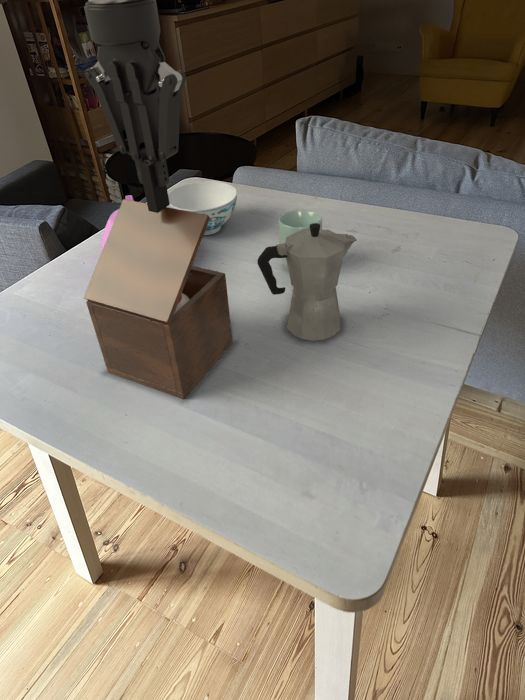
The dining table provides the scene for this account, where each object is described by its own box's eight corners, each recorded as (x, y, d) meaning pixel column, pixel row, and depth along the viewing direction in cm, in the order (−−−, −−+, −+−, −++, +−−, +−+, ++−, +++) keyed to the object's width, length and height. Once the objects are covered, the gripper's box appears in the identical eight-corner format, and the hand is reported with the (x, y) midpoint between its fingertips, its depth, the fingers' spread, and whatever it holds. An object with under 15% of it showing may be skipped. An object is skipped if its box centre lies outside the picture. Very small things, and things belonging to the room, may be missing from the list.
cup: (329, 265, 103) (330, 217, 96) (301, 281, 99) (301, 232, 92) (299, 252, 107) (298, 205, 101) (271, 267, 103) (269, 219, 97)
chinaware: (240, 211, 123) (238, 179, 119) (239, 242, 112) (236, 207, 107) (176, 215, 124) (170, 182, 119) (167, 246, 112) (161, 211, 107)
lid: (126, 201, 75) (123, 198, 75) (210, 217, 70) (207, 214, 69) (86, 299, 73) (83, 297, 73) (170, 324, 68) (167, 322, 67)
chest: (162, 322, 91) (147, 254, 83) (233, 343, 86) (225, 273, 77) (107, 372, 82) (85, 301, 73) (183, 399, 76) (169, 326, 68)
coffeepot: (340, 302, 93) (345, 204, 82) (362, 333, 86) (371, 230, 75) (254, 319, 90) (247, 220, 79) (270, 353, 83) (265, 249, 72)
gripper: (190, -9, 56) (215, 203, 71) (95, -9, 61) (137, 189, 76) (147, 3, 51) (184, 228, 66) (47, 2, 56) (102, 211, 71)
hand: (159, 207), depth 71 cm, fingers closed
